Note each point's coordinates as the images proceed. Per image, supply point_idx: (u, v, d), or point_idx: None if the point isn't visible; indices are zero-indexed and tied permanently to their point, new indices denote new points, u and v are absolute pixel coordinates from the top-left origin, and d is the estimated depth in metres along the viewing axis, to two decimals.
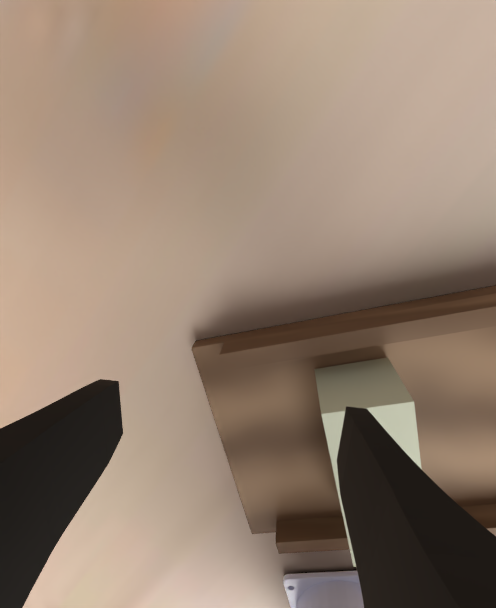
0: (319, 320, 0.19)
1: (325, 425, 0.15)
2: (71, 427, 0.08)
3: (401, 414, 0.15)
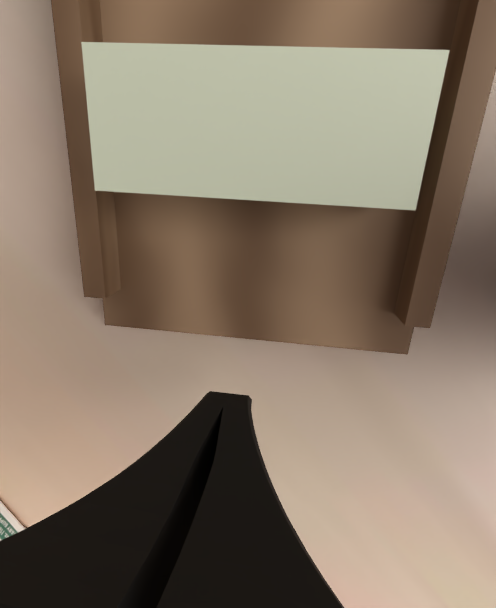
0: None
1: (113, 188, 0.11)
2: (209, 444, 0.08)
3: (103, 66, 0.10)
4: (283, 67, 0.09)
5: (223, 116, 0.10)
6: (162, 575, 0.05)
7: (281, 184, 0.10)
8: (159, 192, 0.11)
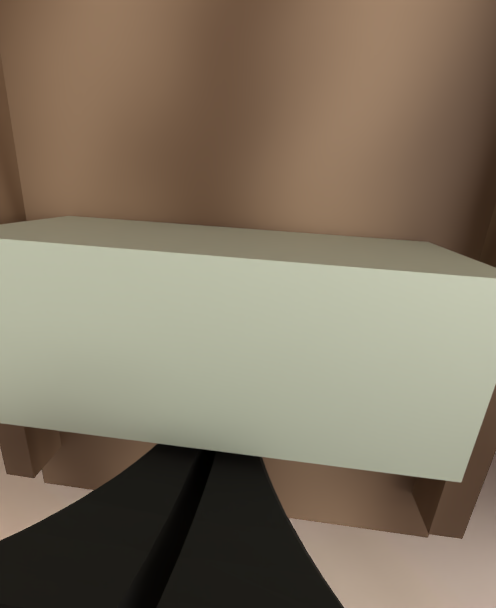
0: None
1: (4, 420, 0.07)
2: None
3: None
4: (253, 287, 0.06)
5: (161, 344, 0.06)
6: (162, 575, 0.05)
7: (253, 435, 0.07)
8: (72, 428, 0.07)
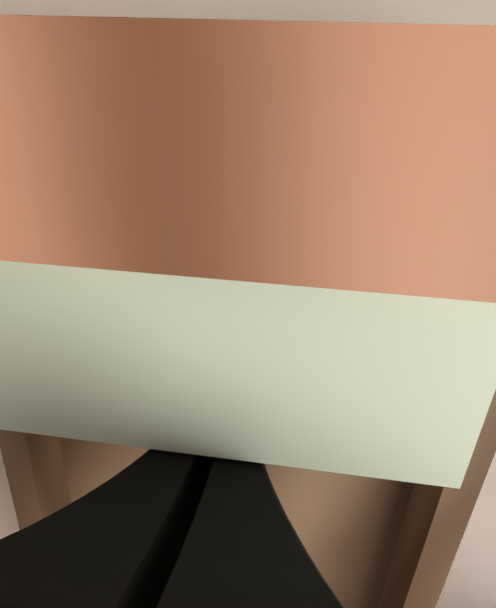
0: None
1: (5, 427, 0.07)
2: None
3: None
4: (253, 296, 0.06)
5: (160, 352, 0.06)
6: (160, 575, 0.05)
7: (253, 442, 0.07)
8: (73, 435, 0.07)
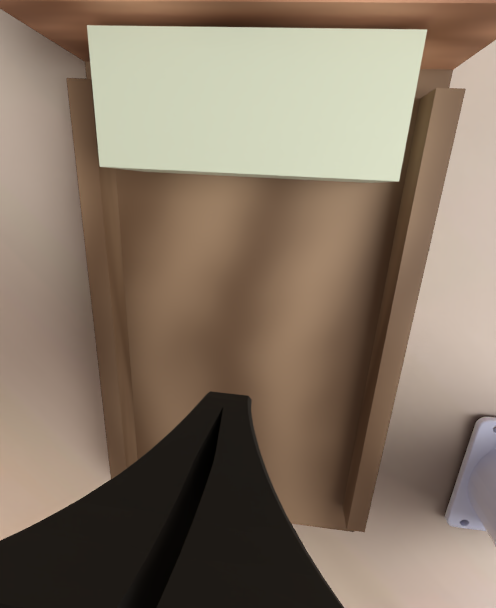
0: None
1: (117, 164, 0.12)
2: (209, 444, 0.08)
3: (107, 47, 0.10)
4: (274, 47, 0.10)
5: (219, 94, 0.10)
6: (162, 575, 0.05)
7: (273, 158, 0.11)
8: (160, 167, 0.11)
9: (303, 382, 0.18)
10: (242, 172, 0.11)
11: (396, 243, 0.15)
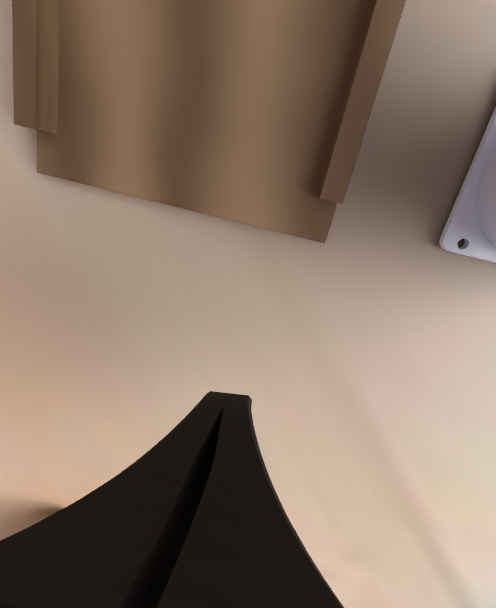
0: None
1: None
2: (209, 444, 0.08)
3: None
4: None
5: None
6: (162, 575, 0.05)
7: None
8: None
9: None
10: None
11: None
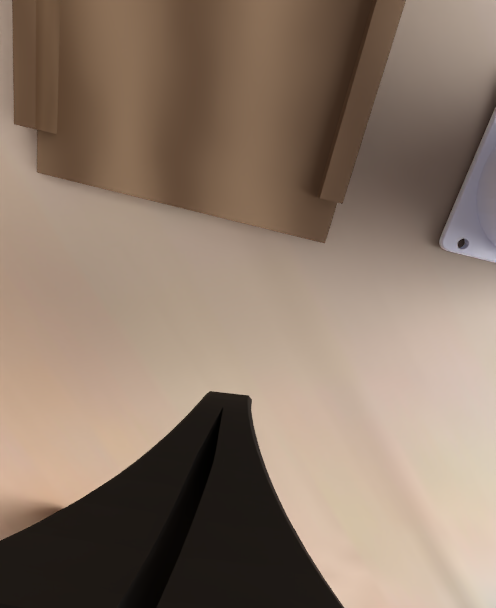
0: None
1: None
2: (209, 444, 0.08)
3: None
4: None
5: None
6: (162, 575, 0.05)
7: None
8: None
9: None
10: None
11: None
